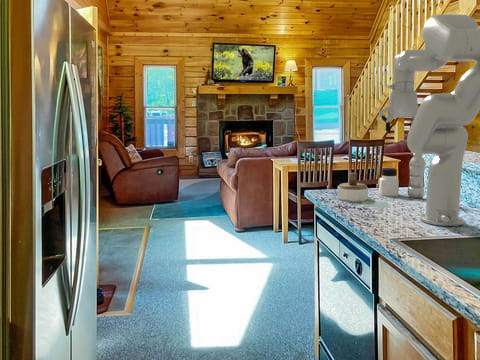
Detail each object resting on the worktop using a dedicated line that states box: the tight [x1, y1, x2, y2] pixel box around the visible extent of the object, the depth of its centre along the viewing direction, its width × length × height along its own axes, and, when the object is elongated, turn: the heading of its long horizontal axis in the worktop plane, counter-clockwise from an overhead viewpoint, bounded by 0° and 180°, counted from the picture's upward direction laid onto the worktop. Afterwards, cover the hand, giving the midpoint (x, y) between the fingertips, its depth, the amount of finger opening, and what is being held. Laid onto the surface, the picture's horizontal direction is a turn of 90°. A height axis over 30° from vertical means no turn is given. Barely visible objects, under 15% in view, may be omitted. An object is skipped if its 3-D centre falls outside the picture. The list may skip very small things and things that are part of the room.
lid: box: [338, 172, 368, 190], centre depth 167 cm, size 11×11×6 cm
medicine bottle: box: [378, 167, 400, 197], centre depth 176 cm, size 7×7×12 cm
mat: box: [360, 200, 391, 208], centre depth 156 cm, size 10×10×1 cm
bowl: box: [337, 185, 369, 202], centre depth 168 cm, size 12×12×5 cm
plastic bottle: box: [406, 152, 427, 199], centre depth 167 cm, size 6×7×20 cm
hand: (401, 133), depth 155 cm, fingers open, 9 cm apart
